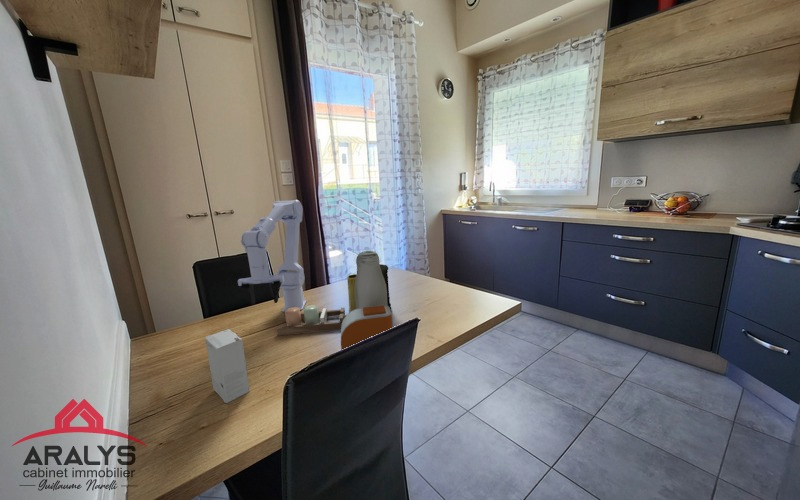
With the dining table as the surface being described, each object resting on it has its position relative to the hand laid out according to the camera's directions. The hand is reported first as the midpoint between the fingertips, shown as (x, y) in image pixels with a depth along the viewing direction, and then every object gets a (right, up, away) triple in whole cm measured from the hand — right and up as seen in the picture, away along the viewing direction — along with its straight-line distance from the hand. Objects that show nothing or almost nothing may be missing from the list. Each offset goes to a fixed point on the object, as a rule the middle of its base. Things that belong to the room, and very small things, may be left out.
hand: (264, 302), depth 105 cm
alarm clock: (+38, -12, -15) cm, 42 cm away
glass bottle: (+38, -9, -3) cm, 40 cm away
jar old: (+16, -9, +4) cm, 18 cm away
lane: (+15, -9, +4) cm, 18 cm away
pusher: (+26, -8, +5) cm, 28 cm away
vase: (+30, -6, +14) cm, 34 cm away
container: (+39, -6, +12) cm, 42 cm away
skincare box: (+5, -17, -29) cm, 34 cm away
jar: (+9, -9, +3) cm, 13 cm away
